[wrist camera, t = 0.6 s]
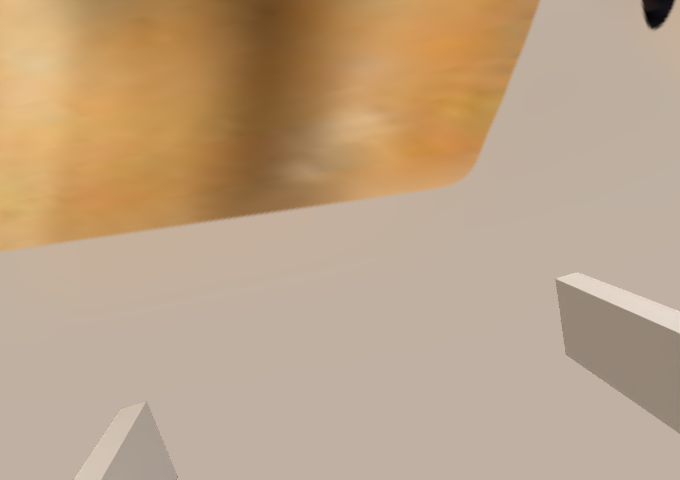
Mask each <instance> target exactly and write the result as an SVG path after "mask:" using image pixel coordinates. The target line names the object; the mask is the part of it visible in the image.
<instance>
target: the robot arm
mask: <svg viewBox="0 0 680 480" xmlns="http://www.w3.org/2000/svg"><path fill="white" fill-rule="evenodd" d="M556 287H557V294H558V301H559V308H560V315H561V323H562V330H563V337H564V344H565V352H566V355H567V356H569V357H570V358H572V359H573V360H575V361H576V362H577V363H579V364H580V365H582V366H583V367H585V368H586V369H587V370H589V371H590V372H592V373H593V374H595V375H596V376H598V377H599V378H600V379H602V380H603V381H605V382H606V383H608V384H609V385H610V386H612V387H613V388H615V389H616V390H618V391H619V392H621V393H622V394H623V395H625V396H626V397H628V398H629V399H631V400H632V401H634V402H635V403H637V404H638V405H639V406H641V407H642V408H644V409H645V410H647V411H648V412H649V413H651V414H653V415H654V416H655V417H657V418H658V419H659V420H661V421H663V422H664V423H665V424H667V425H668V426H670V427H671V428H673V429H674V430H675V431H677V432H678V433H680V311H677V310H674V309H672V308H669V307H667V306H664V305H661V304H659V303H656V302H654V301H651V300H649V299H646V298H643V297H640V296H638V295H636V294H633V293H630V292H628V291H625V290H623V289H620V288H617V287H615V286H612V285H609V284H607V283H604V282H601V281H599V280H596V279H594V278H591V277H589V276H586V275H583V274H581V273H578V272H576V273H573V274H570V275H566V276H563V277H559V278H556ZM177 478H178V476H177V474H176V472H175V469H174V467H173V464H172V462H171V459H170V457H169V455H168V452H167V450H166V447H165V445H164V442H163V440H162V437H161V435H160V433H159V430H158V428H157V425H156V423H155V420H154V418H153V416H152V413H151V411H150V408H149V406H148V403H147V402H146V401H145V402H142V403H138V404H135V405H132V406H129V407H125V408H122V409H120V410H119V412H118V413H117V415H116V416H115V418H114V419H113V421H112V422H111V424H110V425H109V427H108V428H107V430H106V431H105V433H104V434H103V436H102V437H101V439H100V440H99V442H98V443H97V445H96V446H95V448H94V450H93V451H92V453H91V454H90V455H89V457H88V458H87V460H86V462H85V463H84V465H83V466H82V468H81V469H80V471H79V472H78V474H77V475H76V477H75V478H74V480H177Z"/></svg>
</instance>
